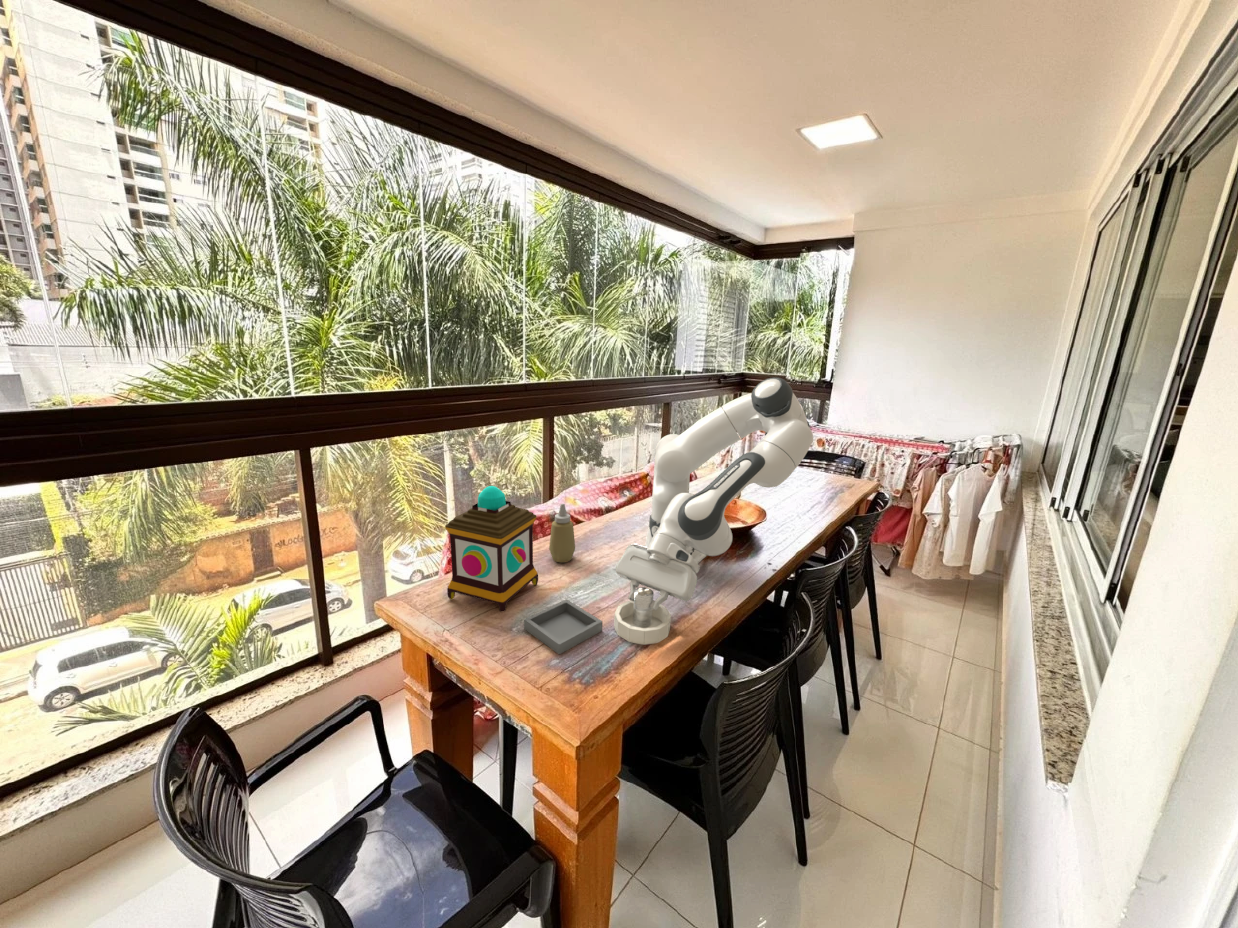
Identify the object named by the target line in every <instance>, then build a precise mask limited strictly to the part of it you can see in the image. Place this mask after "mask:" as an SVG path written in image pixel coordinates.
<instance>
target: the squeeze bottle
mask: <svg viewBox="0 0 1238 928" xmlns="http://www.w3.org/2000/svg"><path fill="white" fill-rule="evenodd" d="M565 505H566V504H565V503H561V504H560V507H559V510H558V513H556V514H555V515H554V521H553V522H551V528H550V537H549V548H548V551H549V552H550V555H551V558H552V560H553V562H555V563H568V562H571V560H572V559H573V555H574V553H575V551H576V542H575V541H576V540H575V530H574V528H575V527H574V522H573V521H572V520H571V515H570V514H569V513H568V512H567V509H566V506H565Z"/></svg>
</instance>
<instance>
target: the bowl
mask: <svg viewBox="0 0 1238 928" xmlns="http://www.w3.org/2000/svg"><path fill="white" fill-rule="evenodd" d="M633 609H634V602H633V601H631V600H627V601H624V602H623V603H621V604H620V605H618V606H617V607H616V610H615V612H614V617H613V618H614V620H613V621H614V622H613V627H614V629H615V632H616V634H617V636H618V637H620V638H622V639H623V640H626V641H627V642H628V643H632V644H633V643H634V644H638V645H651V644H652V645H653V644H657V643H658V644H659V643H660V642H661V641H664V640H665V639H666V638H668V637H669V634H670V629H671V620H672V618H671V617H672V616H671V615H672V614H671V613H670V611H669V610H668V608H667V607H666V606H664V605H663V604H662V603H661V604H660V605H659V607H658V609H657V611H655V610H653V609H652V623H651V625H650V626H649V627H645V628H641V627H637V626H635V625H634V624H633Z"/></svg>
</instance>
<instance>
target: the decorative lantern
mask: <svg viewBox="0 0 1238 928" xmlns="http://www.w3.org/2000/svg"><path fill="white" fill-rule="evenodd" d="M536 520H537V514H535V513H534V512H532V511H530V510H529V509H526V508H522V507H518V506H516V505H515V504H512V503H511V501H507V499H506V495H505V493H504V492H503V491H502V490H501V489H500V488H499V487H497V486H495V485H489V486H486V487H485V488H483V489H482V490H481V492H479V494H478V497H477V503H476V504H472V508H469V509H468V510H466V511H465V512H462V513H461V514H459V515H457V516H455V517H453V519H452V520H451V519H450V521H448V523H447V524H445V525H444V528H445V530H446V531H447V533H448V534H449V540H450V559H451V561H450V562H451V573H452V574H451V575H452V576H451V580H450V582H449V584H448V586H447V588H446V589H447V593H446V594H447V597H448V599H449V600H454V599H455V596H456V594H460V595H463V596H466V597H471V598H475V599H479V600H483V601H485V602H490V603H494V604H496V605H497V606H498V610H499V611H500V612H505V611H506V607H507V603H508V602H509V601H510V600H511V599H512V598H514V597H515V596H516V595H517V594H518V593H519V592H520V591H522V590H523V589H524V588H525V587H527V586H528V585H529V584H530V583H532V585H533V586H536V585H538V582H539V572H538V571H537V569H536V568H535V566H534V546H533V545H534V540H533V539H534V537H533V535H534V534H533V532H534V531H533V529H534V523H535V521H536Z"/></svg>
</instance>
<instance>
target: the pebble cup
mask: <svg viewBox="0 0 1238 928" xmlns="http://www.w3.org/2000/svg"><path fill="white" fill-rule="evenodd" d="M652 600H654V590H653V589H651V588H649V587H646V586H642V587H638V588H636V590H635V591H634V609H633V624H634V625H635V626H637V627H641V628H645V627H649V626H650V625H651V623H652V609H651V608H650V607H649V606H650V604H651V601H652Z"/></svg>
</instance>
